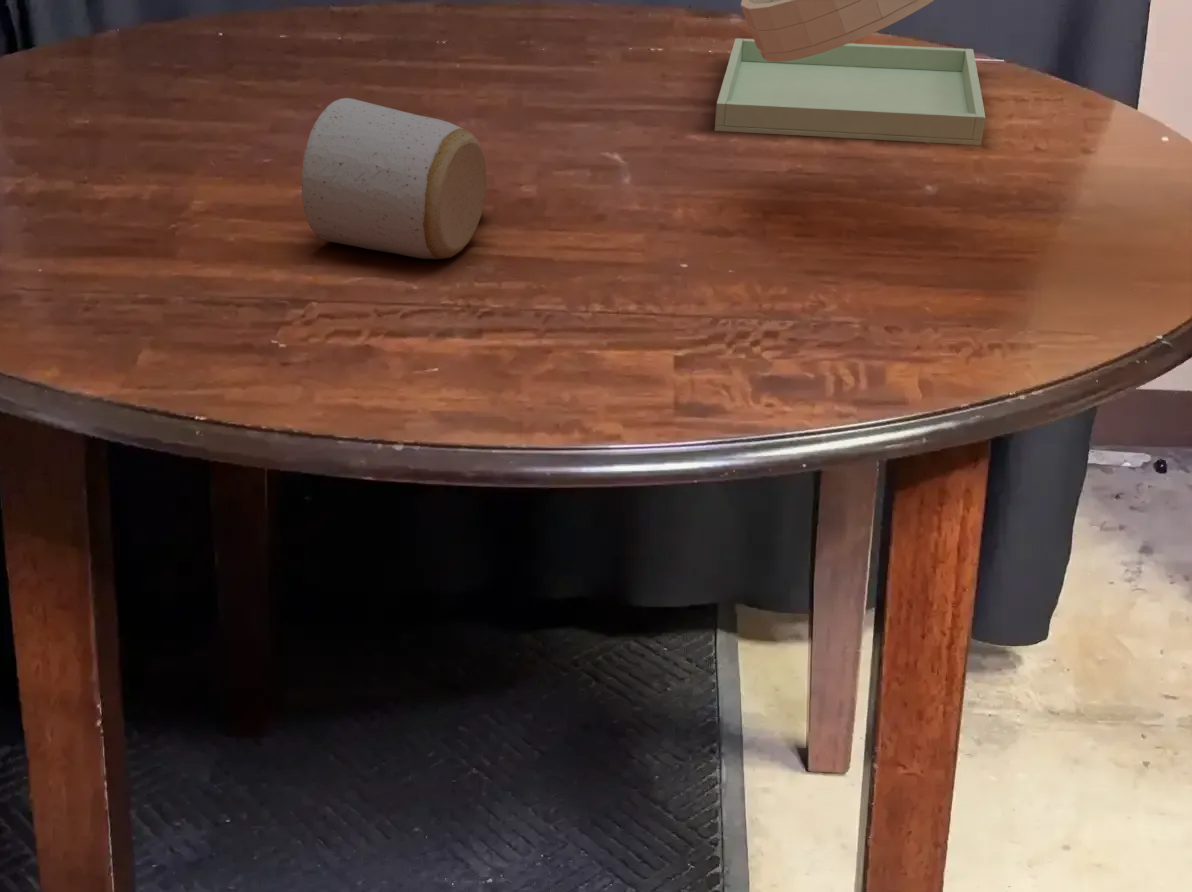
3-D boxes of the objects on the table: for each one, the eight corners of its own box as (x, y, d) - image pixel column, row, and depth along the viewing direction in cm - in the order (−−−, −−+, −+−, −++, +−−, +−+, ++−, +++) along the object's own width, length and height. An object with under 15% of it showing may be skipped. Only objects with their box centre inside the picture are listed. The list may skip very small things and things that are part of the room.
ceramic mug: (437, 284, 80) (433, 137, 76) (303, 260, 83) (291, 117, 78) (518, 220, 88) (518, 84, 84) (393, 200, 91) (387, 68, 86)
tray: (968, 77, 111) (973, 48, 109) (980, 148, 98) (985, 116, 97) (733, 65, 113) (735, 37, 112) (714, 133, 100) (716, 102, 99)
